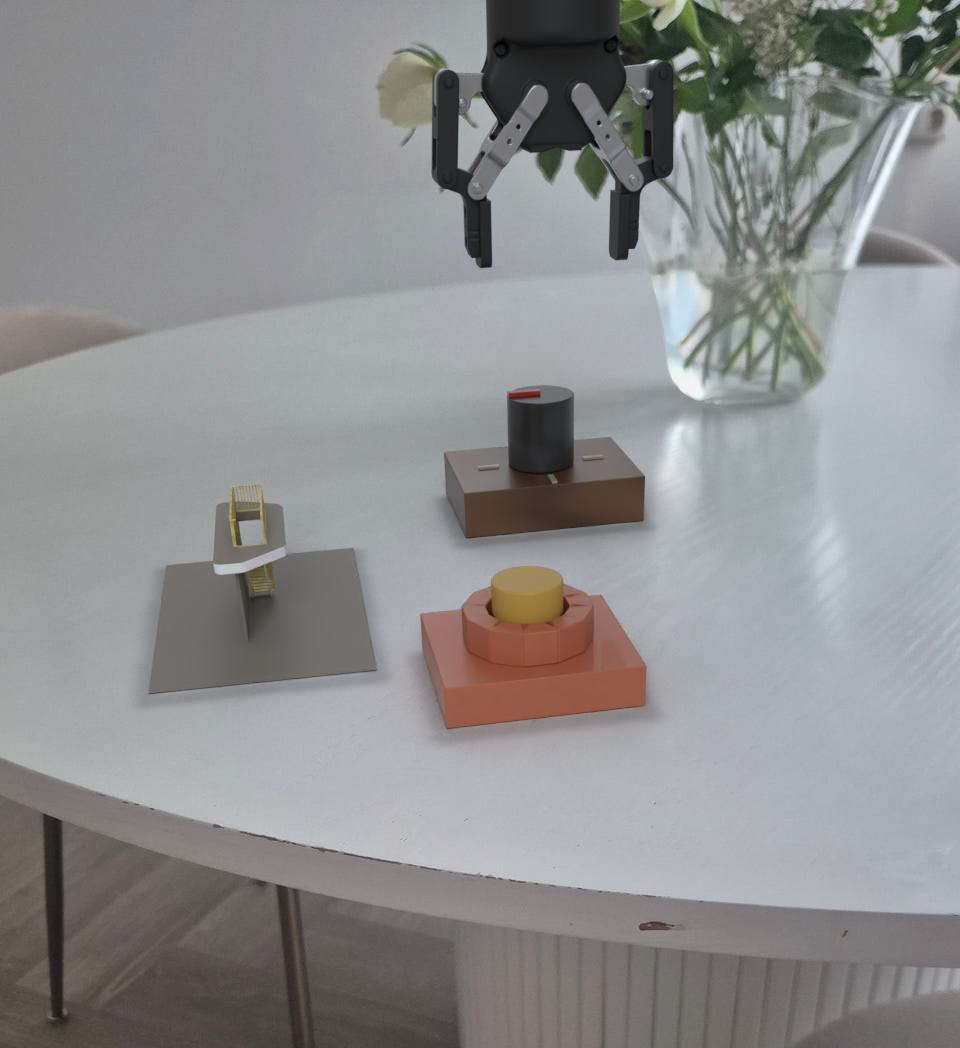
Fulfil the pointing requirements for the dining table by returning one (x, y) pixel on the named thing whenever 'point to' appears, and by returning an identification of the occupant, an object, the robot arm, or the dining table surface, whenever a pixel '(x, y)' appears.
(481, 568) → the dining table surface
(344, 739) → the dining table surface
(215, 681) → the platform
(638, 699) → the button box
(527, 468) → the dial knob
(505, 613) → the button
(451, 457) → the control panel
